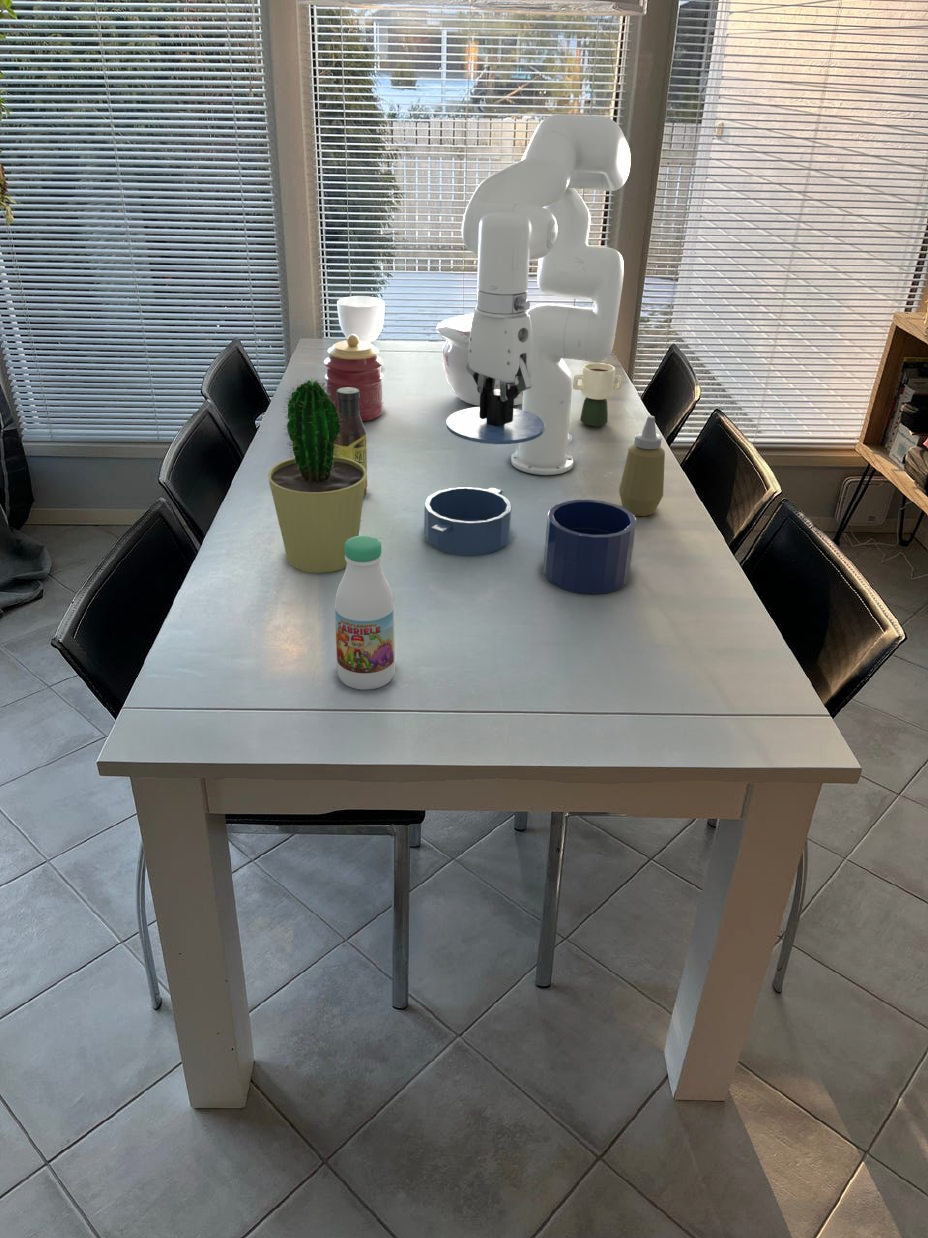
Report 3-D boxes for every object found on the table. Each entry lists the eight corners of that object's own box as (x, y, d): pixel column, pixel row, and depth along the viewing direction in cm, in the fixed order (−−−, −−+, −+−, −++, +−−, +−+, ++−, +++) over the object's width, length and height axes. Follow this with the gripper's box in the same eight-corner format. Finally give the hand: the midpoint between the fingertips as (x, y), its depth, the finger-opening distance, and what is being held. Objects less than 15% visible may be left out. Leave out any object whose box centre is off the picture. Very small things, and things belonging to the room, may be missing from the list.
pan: (399, 547, 163) (399, 514, 160) (460, 506, 178) (461, 475, 175) (474, 569, 157) (476, 536, 154) (530, 525, 172) (533, 494, 168)
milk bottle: (338, 659, 133) (332, 528, 123) (394, 658, 134) (393, 528, 123) (336, 692, 127) (330, 557, 116) (395, 690, 127) (394, 556, 117)
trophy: (613, 418, 221) (619, 362, 214) (620, 429, 215) (627, 371, 208) (566, 418, 220) (571, 362, 213) (572, 429, 214) (577, 371, 207)
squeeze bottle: (663, 505, 181) (677, 412, 171) (656, 522, 174) (670, 427, 165) (621, 498, 183) (632, 406, 173) (612, 515, 176) (624, 420, 167)
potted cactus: (372, 576, 154) (368, 392, 138) (274, 581, 151) (259, 395, 136) (365, 533, 167) (360, 361, 151) (274, 538, 164) (260, 363, 149)
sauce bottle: (362, 503, 178) (359, 397, 167) (329, 499, 179) (324, 394, 168) (372, 489, 183) (369, 386, 173) (340, 485, 184) (336, 383, 174)
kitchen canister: (394, 416, 218) (393, 338, 209) (343, 426, 212) (340, 345, 202) (366, 400, 227) (364, 324, 218) (316, 409, 221) (312, 331, 211)
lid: (427, 433, 152) (427, 395, 149) (478, 406, 164) (479, 370, 161) (514, 455, 145) (517, 416, 142) (561, 426, 157) (564, 388, 154)
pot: (565, 546, 165) (570, 492, 160) (641, 567, 159) (649, 512, 154) (528, 579, 155) (532, 522, 149) (608, 603, 149) (615, 545, 144)
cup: (339, 362, 252) (337, 295, 243) (384, 362, 253) (383, 295, 244) (339, 376, 242) (336, 306, 233) (386, 376, 243) (385, 307, 234)
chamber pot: (462, 424, 215) (465, 330, 204) (417, 387, 236) (418, 300, 225) (572, 411, 225) (580, 320, 214) (520, 376, 246) (525, 293, 235)
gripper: (559, 309, 141) (549, 428, 151) (481, 288, 151) (476, 402, 161) (524, 316, 137) (516, 439, 147) (446, 295, 147) (443, 411, 156)
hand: (495, 418), depth 154 cm, fingers closed on lid, 3 cm apart
